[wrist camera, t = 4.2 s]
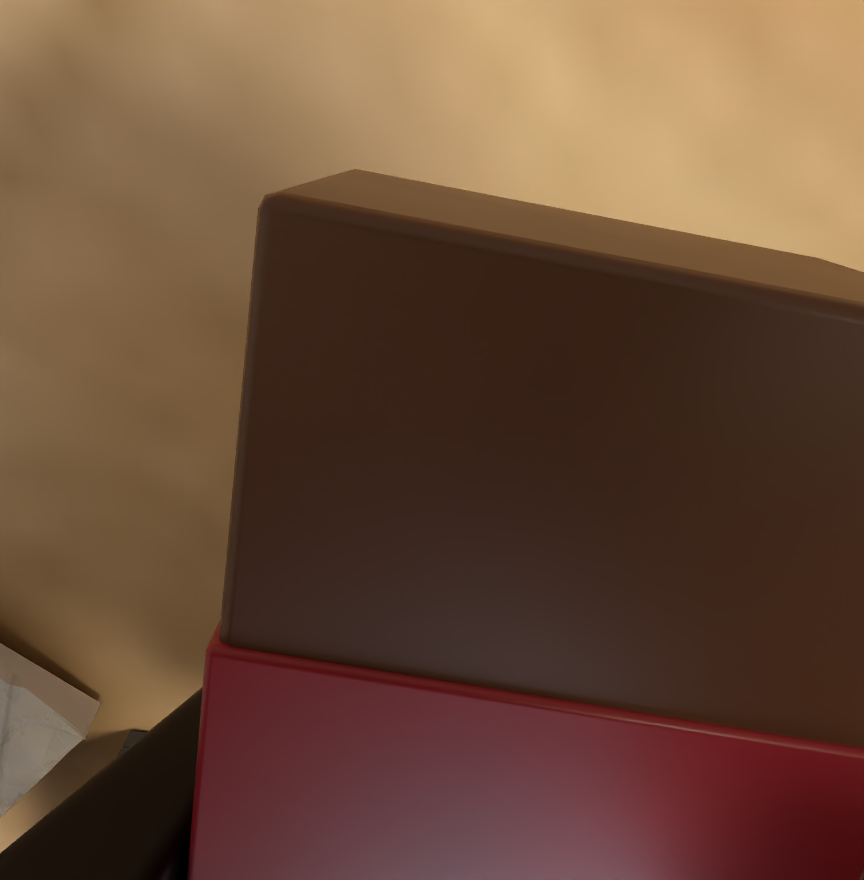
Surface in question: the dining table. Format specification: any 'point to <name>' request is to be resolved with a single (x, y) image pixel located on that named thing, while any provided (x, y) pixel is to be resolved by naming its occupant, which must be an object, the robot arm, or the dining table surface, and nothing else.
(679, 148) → the dining table surface
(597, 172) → the dining table surface
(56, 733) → the packaged product
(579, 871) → the chocolate bar
